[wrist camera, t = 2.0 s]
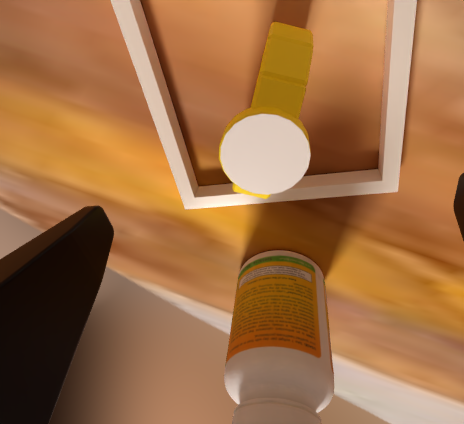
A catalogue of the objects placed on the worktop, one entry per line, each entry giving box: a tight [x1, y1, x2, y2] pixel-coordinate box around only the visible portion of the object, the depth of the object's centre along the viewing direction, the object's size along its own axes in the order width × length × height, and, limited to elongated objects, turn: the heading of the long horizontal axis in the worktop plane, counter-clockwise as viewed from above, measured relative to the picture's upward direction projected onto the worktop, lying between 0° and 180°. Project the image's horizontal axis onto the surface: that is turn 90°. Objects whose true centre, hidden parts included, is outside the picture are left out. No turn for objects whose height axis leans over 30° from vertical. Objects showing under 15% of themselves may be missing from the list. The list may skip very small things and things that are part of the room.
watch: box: [219, 21, 313, 199], centre depth 13 cm, size 6×3×6 cm, turn 169°
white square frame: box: [111, 0, 417, 209], centre depth 15 cm, size 10×10×1 cm
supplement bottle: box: [224, 250, 334, 424], centre depth 19 cm, size 5×5×10 cm
